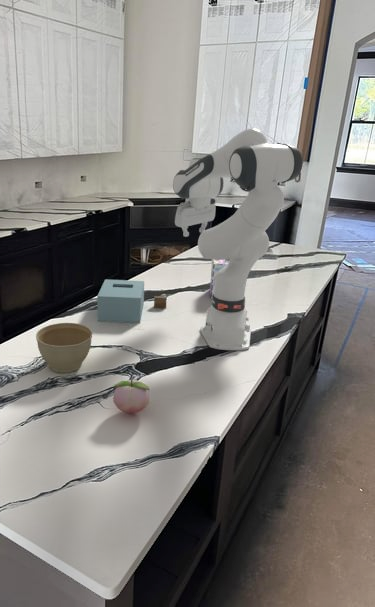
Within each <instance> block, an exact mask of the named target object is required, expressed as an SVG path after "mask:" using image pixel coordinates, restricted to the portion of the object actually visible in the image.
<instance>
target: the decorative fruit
mask: <svg viewBox="0 0 375 607" xmlns="http://www.w3.org/2000/svg"><path fill="white" fill-rule="evenodd" d="M113 388H115V390H114V393H113V396H112V397H113V403H114V405H115V406H116V408H117V409H118V410H120V411H121V412H122V413H126V414H137V413H139V412H141V411H143V410H144V409H145V408H147V406H148V405H149V402H150V392H149V391H151V389H150V388H149V386H148V385H147V384H146V383H144V382H142V381H140V380H136V379H132V378H131V379H128V380H121V381H118V382H116V383H115V384H114V385H113Z"/></svg>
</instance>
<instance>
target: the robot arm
mask: <svg viewBox="0 0 375 607" xmlns="http://www.w3.org/2000/svg"><path fill="white" fill-rule="evenodd" d="M302 168H303V155H302V153H301V151H300V149H298V148H297V147H296V146H294V145H291V144H288V143H280V142H277V143H272V144H270V143H268V141H267V137H266V136H265V134H264V133H263V132H262V131H261V130H260V129H257V128H253V127H250V128H247V129H244V130H242V131H240V132H239V133H237V134H236V135H234V136H233V137H232V138H231V139H230V140H229V141H227V143H225V144H224V145H223V146H221V147H220V148H218V149H216V150H214V151H213V152H211V153H208V154H207V155H205V156H203V157H198V158H197V157H194V158H191V159H190V161H189V165H188V167H187V168H186V169H180V170H179V171H178V172H177V173H176V174H175V176H174V177H173V180H172V188H173V191H174V194H176V196H178V198H180V199H182V200H184V199H185V201H184V202H181V203H180V204H178V205H177V209H176V212H175V216H174V224H175V226H176V227H178V228H181V229H182V232H183V233H182V234H183V235H182V236H183V237H185V238H186V237H189V236H190V232H189V231H188V229H189V226H194V225H200V224H201V226H200V227H199V230H198V232H199V233H200V234H199V237H198V240H197V249H198V251H199V254H200V255H201V256H202V258H204V259H208V260H212V259H213V260H225V261H227V260H229V261H228V262H227V263H226V266H225V267H224V268H222V269H220V270H219V271H218V272H217V274H216V276H215V284H214V294H213V295H212V299H211V306H210V307H208V308H207V309H206V316H205V317H206V318H205V324H204V325H203V326H201V327H200V329H199V330H200V333H201V335H202V336H203V338H204V340H205V341H206V343H207V344H208V346H209V348H211V349H215V350H223V351H245V350H249V349H250V346H251V345H250V343H251V335H252V334H251V333H252V331H251V330H252V329H251V324H249V323H247V322H249V318H250V317H248V310H246V308H245V306H246V297H245V292H246V286H247V280H248V276H249V274H250V272H251V270H252V268H253V267H254V265H255V263H256V262H258V260H259V259H260V258H262V257H263V256H265V255H266V253H267V252H268V249H269V246H270V238H269V236H268V233H267V232H266V230H268V229H269V227H270V226H271V225H272V223H274V221H275V220H276V218H277V217H278V215H279V213H280V211H281V210H282V208H283V205H284V203H285V195H284V192H283V191H282V188H280V186H278V183H288V182H290V181H293V180H295V179H296V178H298V177H299V175H300V174H301V172H302V170H303V169H302ZM224 178H232V179H233V181H234V183H235V184H236V185H238V186H239V188H240V189H241V190H242V192H243V191H244V192H246V193H247V192H248V193H247V196H246V197H245V198H244V200H243V201H242V203H241V204H240V205H239V207H238V208H237V209H236V211H235V213H234V214H233V215H230V217H228V218H227V219H226V220H224V221H223V222H220V223H218V224H217V225H215V226H213V227H210V228H208V229H206V227H207V226H208V222H212V221H214V219H215V217H216V208H217V207H216V204H217V197H218V196H220V195H221V193H222V191H223V188H224ZM215 197H216V198H215Z"/></svg>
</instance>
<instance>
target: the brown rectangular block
mask: <svg viewBox="0 0 375 607" xmlns="http://www.w3.org/2000/svg"><path fill="white" fill-rule="evenodd" d="M153 308H154V309H167V296H163V295H162V296H161V295H160V296H157V295H154V298H153Z"/></svg>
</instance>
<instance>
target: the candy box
mask: <svg viewBox="0 0 375 607" xmlns="http://www.w3.org/2000/svg"><path fill="white" fill-rule="evenodd" d="M226 261H227V260H213V259H211V269H210V270H211V272H210V283H209V284H210V285H209V286H210V287H209V293H210V299H211V300H212V295H213V294H214V284H215V276H216V274H217V272H218V271H219V270H220V269H222V268H224V267H225V266H226V265H227V262H226Z"/></svg>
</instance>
